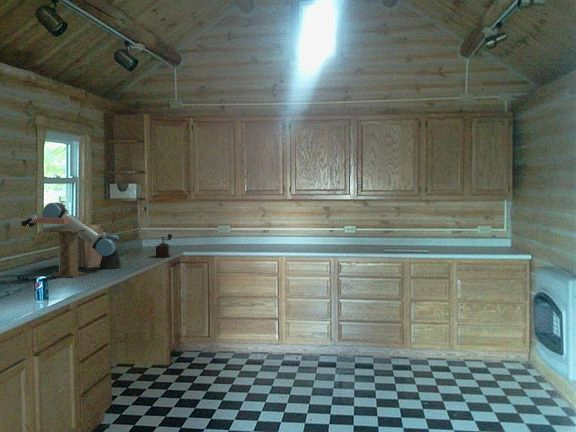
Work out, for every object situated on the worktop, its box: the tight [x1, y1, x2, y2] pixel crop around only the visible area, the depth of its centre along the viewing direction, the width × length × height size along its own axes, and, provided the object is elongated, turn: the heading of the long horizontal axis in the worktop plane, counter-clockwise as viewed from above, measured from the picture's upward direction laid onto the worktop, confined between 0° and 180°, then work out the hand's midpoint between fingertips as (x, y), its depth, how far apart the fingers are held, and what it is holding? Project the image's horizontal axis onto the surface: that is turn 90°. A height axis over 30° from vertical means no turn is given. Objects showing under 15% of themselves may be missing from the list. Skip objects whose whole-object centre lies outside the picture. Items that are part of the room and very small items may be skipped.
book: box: [78, 223, 104, 269], centre depth 422 cm, size 25×9×30 cm, turn 167°
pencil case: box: [27, 217, 69, 225], centre depth 382 cm, size 30×4×4 cm, turn 72°
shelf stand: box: [50, 228, 87, 279], centre depth 378 cm, size 17×13×30 cm
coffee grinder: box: [155, 233, 173, 258], centre depth 477 cm, size 16×11×18 cm
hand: (38, 216), depth 384 cm, fingers closed on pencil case, 4 cm apart
